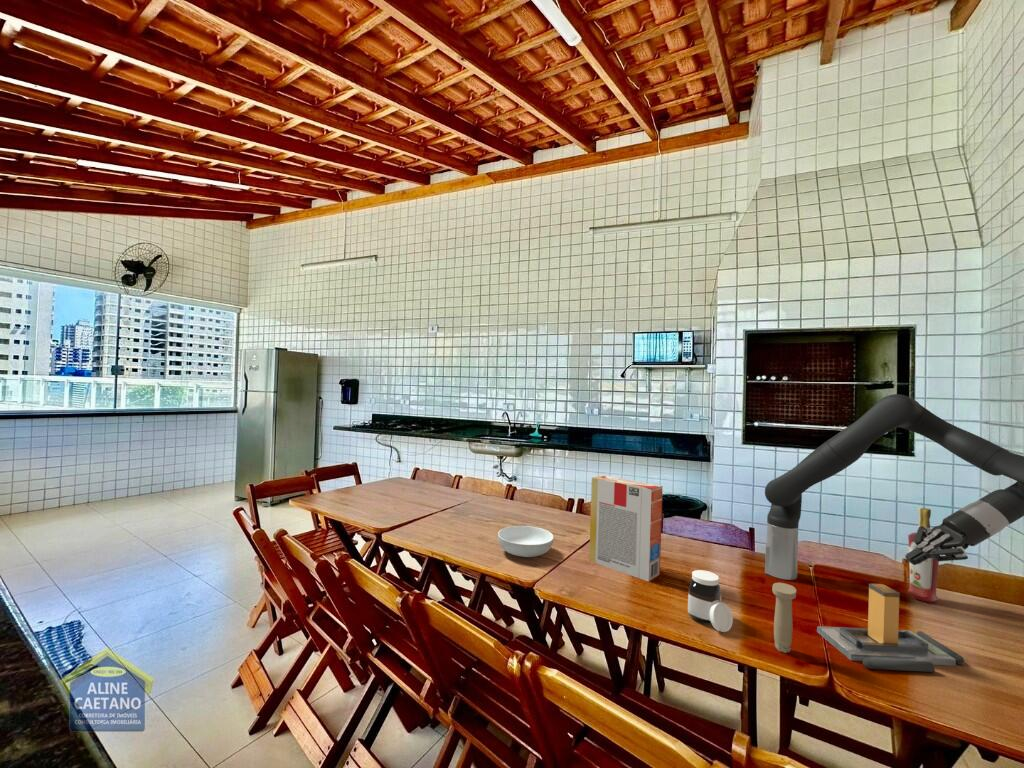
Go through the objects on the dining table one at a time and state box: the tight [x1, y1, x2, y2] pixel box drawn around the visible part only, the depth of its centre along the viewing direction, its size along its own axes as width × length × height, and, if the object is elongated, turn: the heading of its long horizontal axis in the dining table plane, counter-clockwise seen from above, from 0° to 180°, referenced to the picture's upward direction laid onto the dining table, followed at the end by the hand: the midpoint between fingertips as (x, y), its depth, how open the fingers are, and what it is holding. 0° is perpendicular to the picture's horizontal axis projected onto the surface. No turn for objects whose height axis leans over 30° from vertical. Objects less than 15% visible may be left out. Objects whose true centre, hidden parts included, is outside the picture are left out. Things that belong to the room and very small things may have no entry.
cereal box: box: [588, 474, 663, 583], centre depth 153 cm, size 23×8×30 cm, turn 46°
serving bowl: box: [497, 525, 555, 558], centre depth 164 cm, size 21×21×7 cm
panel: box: [816, 625, 957, 667], centre depth 109 cm, size 24×12×3 cm, turn 88°
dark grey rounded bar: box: [915, 630, 965, 665], centre depth 108 cm, size 11×2×2 cm, turn 178°
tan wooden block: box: [867, 583, 901, 644], centre depth 109 cm, size 4×5×13 cm
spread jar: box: [687, 569, 733, 633], centre depth 119 cm, size 12×11×12 cm
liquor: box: [907, 507, 940, 603], centre depth 136 cm, size 7×7×28 cm
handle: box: [771, 582, 797, 654], centre depth 107 cm, size 5×6×15 cm
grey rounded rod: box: [862, 659, 936, 673], centre depth 100 cm, size 15×2×2 cm, turn 88°
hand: (909, 560), depth 111 cm, fingers closed
